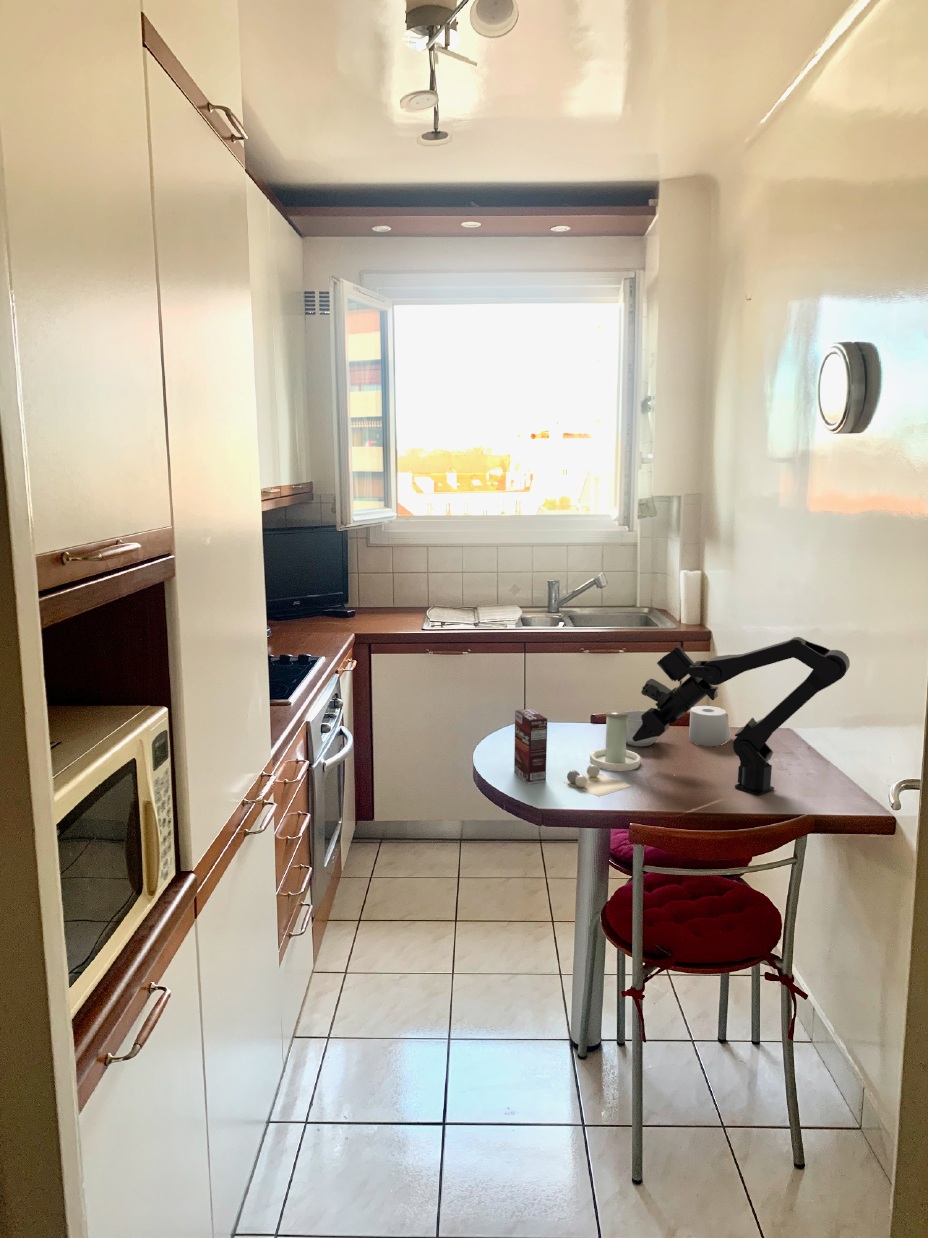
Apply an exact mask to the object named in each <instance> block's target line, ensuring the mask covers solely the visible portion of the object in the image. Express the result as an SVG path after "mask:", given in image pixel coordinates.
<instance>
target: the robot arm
mask: <svg viewBox="0 0 928 1238" xmlns="http://www.w3.org/2000/svg"><path fill="white" fill-rule="evenodd" d="M792 658H794V659H796V660H798V661H799V662H801V663H802V664H804V665H806V666H807V667H809V668H810V669H812V670H811V672H810V673H809V675H807V677H806V678H805V679H804V680H803V681H802V682H801V683H800V684H799V685H797V686H796V688H794V690H792V691H791V692H790V693H789V694H788V695H787V696H786V697H785V698H783V700H782V701H780V702H779V703H778V704H776V706H775V707H774V708H773V709H772V710H771V711H769V712H768V713H767V714H766V715H765V716H764V717H763V718H761V719H759V720H757V721H756V720H755V718H754V717H751V719H749V721H748V722H746V724H745V725H744V726H741V727H740V728H739V729H738V730H737V732H736V733H735V734H734V736H735V738H734V740H733V741H732V749H733V750H732V751H733V752H734V754H735V755H737V757H738V759H739V761H740V762H739V765H738V771H737V784H735V785H734V788H736V789H739V790H741V791H744V792H747V793H751V794H753V795H756V796H761V795H764V794H766V793H768V792H771V791H774V790H775V787H774V786H772V783H771V781H772V771H773V765H772V764H770V763H769V761H770V760H771V759H772V756H773V754H774V751H773V749H771V747H769V745H768V744H767V743H766V742H768V740H769V739H770V738H771V736H772V735H773V734H774V732H776V730H778V728H780V727H781V726H782V725H783V724H784V723H785V722H787V720H789V719H790V718H791V717H792V716H793V715H794V714H795V713H797V712H798V711H799V710H800V709H801V708H802V707H803V706H804V705H805V704H806V703H808V702H809V700H811V699H812V698H813V697H814V696H815V695H817V693H819V692H821V691H823V690H824V689H826V688H829V687H830V686H832V685H833V684H835V683H837V682H838V681H840V680H841V679H843V678H844V676H846V673H847V672H848V670H849V668H850V666H851V665H850V664H851V663H850V658H849V656H848V655H847V654H846V653H845V652H844V651H842V650H838V649H829V648H827V647H824V646H822V645H820V644H816V643H815V642H811V641H808V640H807V639H805V638H803V637H801V636H795V637H792V638H791V639H788V640H786V641H782V642H779V643H775V644H772V645H768V646H764V647H762V648H758V649H755V650H751V651H749V652H745V653H741V654H724V655H717V656H713V657H712V658H710V659H709V660H696V661H695V662H694V661H693V660H692V659H691V658H690V657H689V656H688V655H687V653H686V652H685V650H684V649H683V648H682V646H680V645H677V646H676V647H674V649H673V650H671V651H670V652H669V653H667V654H665V655H664V656H662V657H661V658H660V660H658V661H657V662H656V665H658V667H659V668H660V669H661V670H662V671H663V672H664V673H665V675H666V676H667V677H668V679H669V680H670V681H671V682H676V681H677V682H679V683H680V682H681V681H682V680H683V679H685V678H686V677H687V676H688V675H689V677H688V678H687V679H686V680H684V681H683V682H682V683H680V685H678V686H677V687H674V688H673V689H671V688H669V687H668V686H666V685H664V684H663V683H661V682H660V681H657V680H656V679H654V678H649V679H648V680H646V682H645V684H644V685H643V686H642V688H641V691H640V694H641V695H643V696H645V697H648V698H650V699H651V700H653V701H654V702H656V703H655V706H656V708H654V707H650V708H649V709H647V710H645V711H646V712H645V713H644V714H643V715H642V716H641V719H642V725H641V727H640V728H639V730H638V731H637V732H636V734H635V735H634V736H633V738H632V739H633V740H634V741H635V742H636V741H640V740H644V739H648V738H652V737H656V736H657V737H658V736H659V737H660V736H661V735H663V734H664V733H665V732H666V731H667V730H668V729H669V728H670V725H671V724H674V723H675V722H676V721H678V720H680V719H681V718H682V717H683V716H684V715H686V713H687V712H689V710H691V708H692V707H695V706H696V705H697V704H698V703H699V702H701V700H703V699H704V698H705V697H706V696H707V697H708V698H709V699H710V700H711V701H714V700H716V699H717V698H718V696H719V695H718V690H719V687H718V686H719V685H721V684H723V683H725V682H727V681H729V680H732V679H733V678H735V677H737V676H738V675H740V674H742V673H744V672H749V671H752V670H754V669H759V668H763V667H765V666H769V665H773V664H776V663H779V662H782V661H786V660H789V659H792ZM659 737H658V738H659Z"/></svg>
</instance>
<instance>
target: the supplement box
mask: <svg viewBox="0 0 928 1238" xmlns="http://www.w3.org/2000/svg"><path fill="white" fill-rule="evenodd" d="M547 748H548V718H547V717H545V716H544V715H542V714H540V712H539V713H538V712H537V711H536V710H534V709H533V708H524V709H518V710H517V709H516V710H515V711H514V757H513V758H514V761H513V762H514V766H513V769H514V770H513V773H514V774H516V776H518V777H519V778H520V779H522V780H523V781H524V782H525V783H526V784H528V785H530V784H531V785H532V784H538V783H546V782H547Z"/></svg>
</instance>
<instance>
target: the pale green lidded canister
mask: <svg viewBox="0 0 928 1238" xmlns="http://www.w3.org/2000/svg"><path fill="white" fill-rule="evenodd" d="M605 715H606V721H605V722H606V723H605V724H606V725H605V726H606V728H605V730H606V731H605V749H606V750H605V762H609V763H625V762H626V750H627V742H626V737H627V717H628V712H627V711H625V710H620V709H612V710H611V709H609V710H607V711H606V712H605Z"/></svg>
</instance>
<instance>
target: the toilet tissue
mask: <svg viewBox="0 0 928 1238" xmlns="http://www.w3.org/2000/svg"><path fill="white" fill-rule="evenodd" d="M689 714H690V715H689V730H688V731H689V732H688V741H689V740H690V741H692V742H694V743H696V744H698V745H697V746H700V745H706V746H715V747H720V746H719V745H721V744H723V743H725V742H726V741H729V740H730V738H731V739H732V735H731V729H730V725H729V719H728V714H727V711H726V710H725V709H724V708H720V707H718V706H711V705H710V706H709V705H694V706H693V707H692V708H691V709H690V712H689ZM690 741H689V742H690ZM696 744H695V745H696ZM723 745H724V744H723ZM706 746H705V747H706ZM721 746H722V745H721Z"/></svg>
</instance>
